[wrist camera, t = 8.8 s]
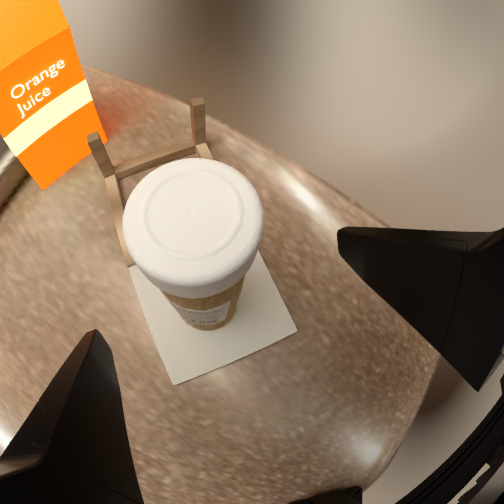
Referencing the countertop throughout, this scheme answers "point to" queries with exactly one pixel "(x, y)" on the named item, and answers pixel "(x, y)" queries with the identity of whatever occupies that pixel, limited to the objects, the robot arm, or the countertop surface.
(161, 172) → the sprinkles bottle
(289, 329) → the mat
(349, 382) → the countertop surface
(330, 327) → the countertop surface
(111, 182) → the frame
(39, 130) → the orange juice
